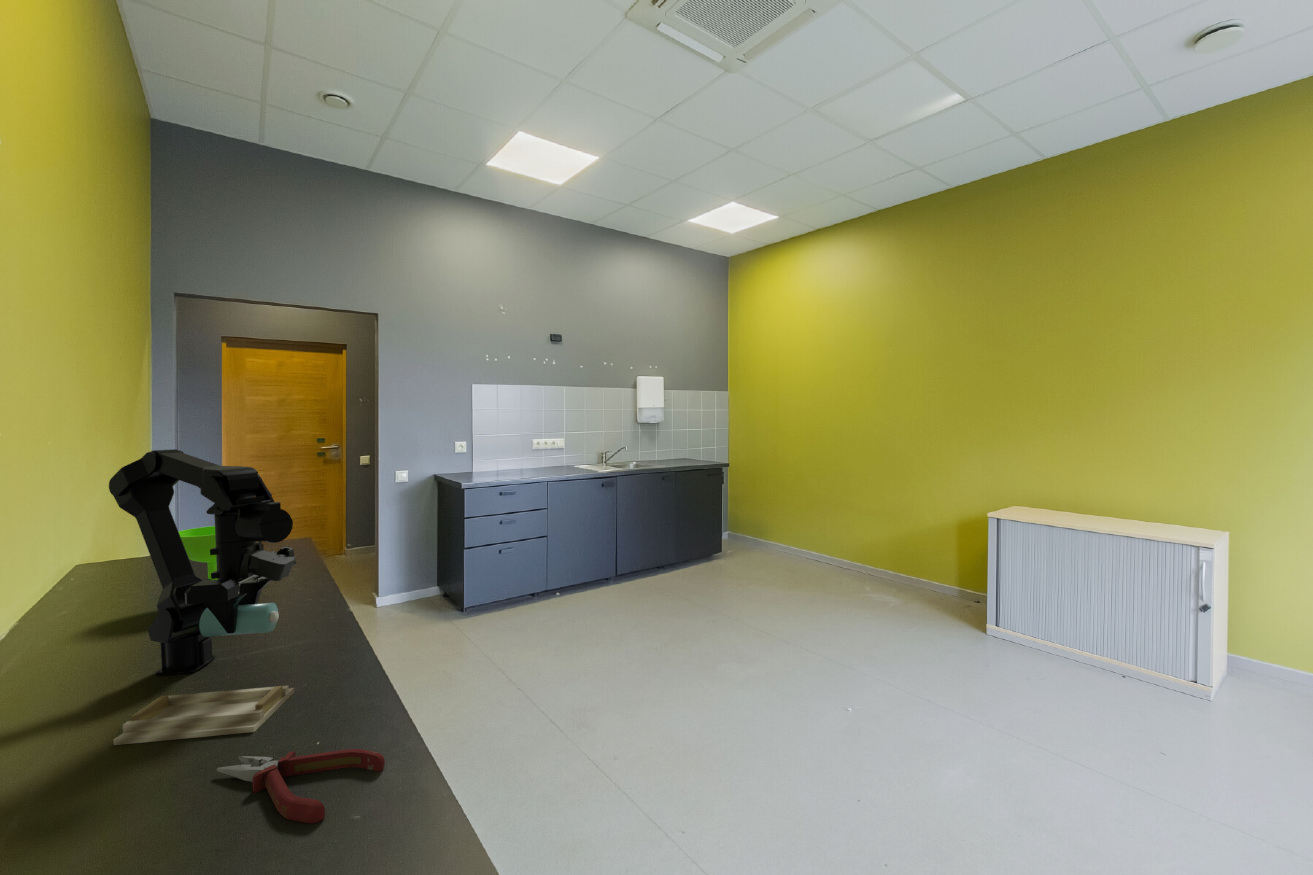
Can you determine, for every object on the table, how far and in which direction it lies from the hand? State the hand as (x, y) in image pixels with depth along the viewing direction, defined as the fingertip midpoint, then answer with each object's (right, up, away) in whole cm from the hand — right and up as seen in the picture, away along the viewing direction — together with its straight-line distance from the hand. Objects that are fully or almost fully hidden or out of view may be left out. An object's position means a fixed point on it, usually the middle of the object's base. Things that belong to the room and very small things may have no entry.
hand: (240, 627), depth 100 cm
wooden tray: (+5, -9, -13) cm, 17 cm away
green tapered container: (-40, -9, +46) cm, 61 cm away
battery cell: (0, -1, 0) cm, 1 cm away
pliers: (+29, -10, -28) cm, 42 cm away
